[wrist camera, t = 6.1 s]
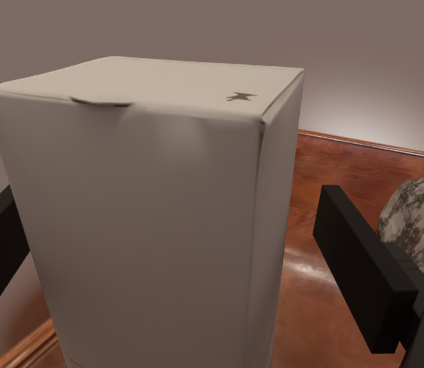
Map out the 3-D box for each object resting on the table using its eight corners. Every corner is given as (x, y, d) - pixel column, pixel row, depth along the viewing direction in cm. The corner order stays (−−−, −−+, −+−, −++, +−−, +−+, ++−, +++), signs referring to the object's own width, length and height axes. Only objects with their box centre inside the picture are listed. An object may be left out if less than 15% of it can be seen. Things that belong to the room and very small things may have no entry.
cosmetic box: (273, 361, 19) (321, 66, 12) (235, 502, 14) (282, 118, 7) (140, 314, 22) (116, 49, 15) (65, 417, 17) (-33, 75, 9)
